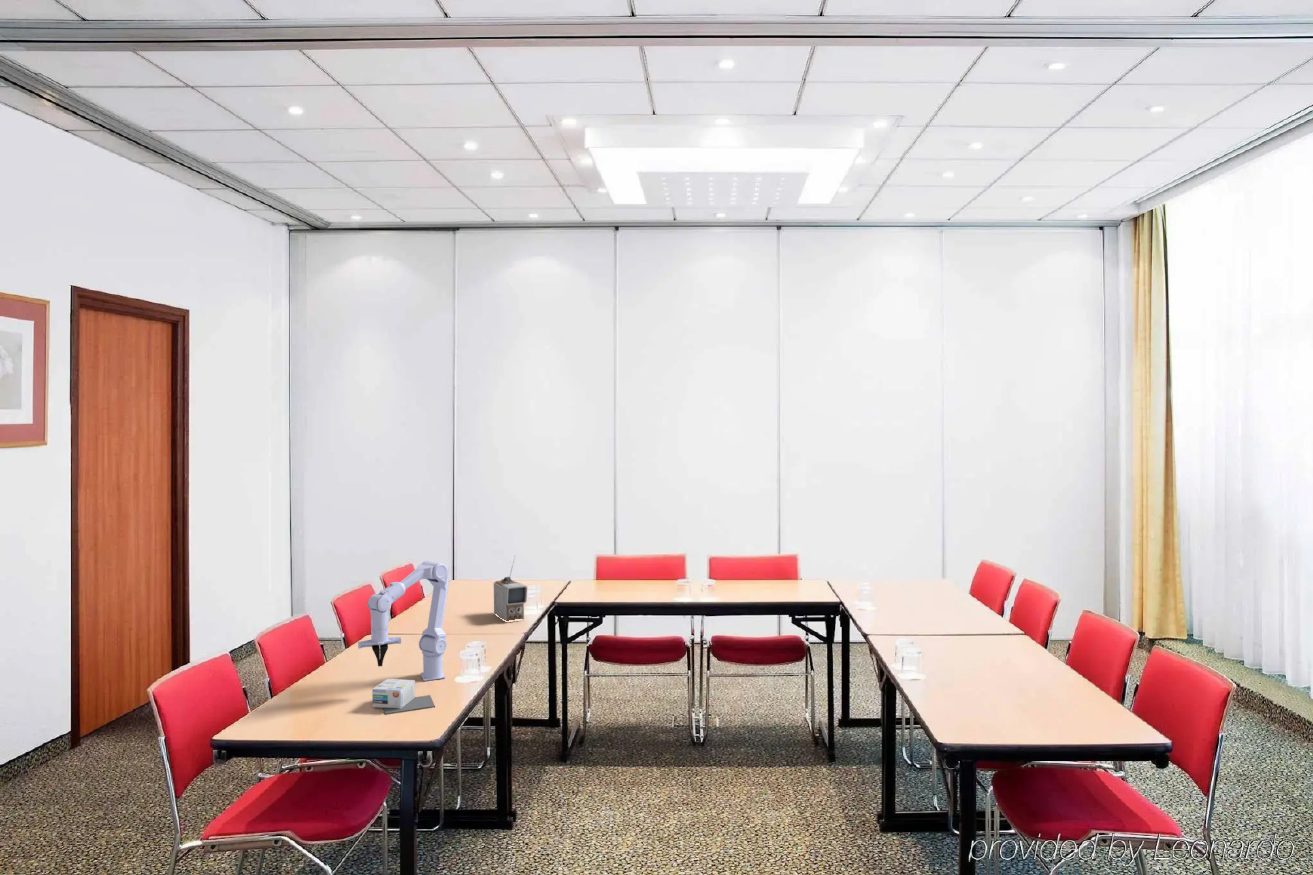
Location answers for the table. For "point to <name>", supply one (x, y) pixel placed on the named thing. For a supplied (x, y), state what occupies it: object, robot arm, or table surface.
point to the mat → (413, 705)
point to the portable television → (509, 598)
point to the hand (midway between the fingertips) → (380, 665)
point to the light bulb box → (393, 693)
